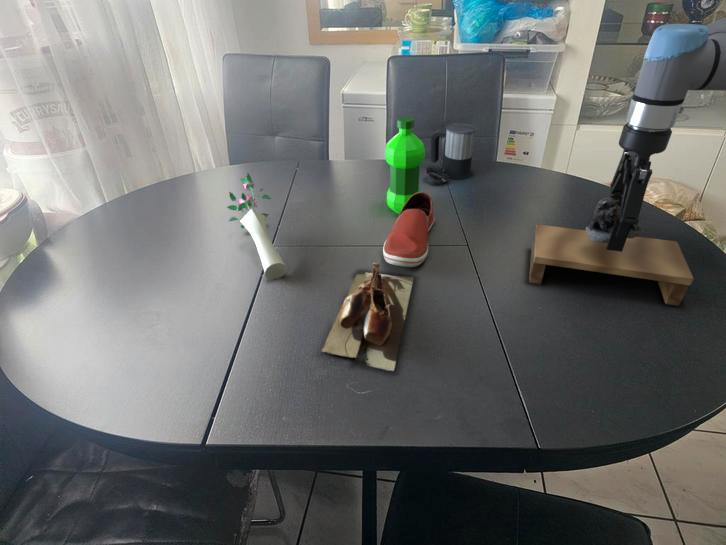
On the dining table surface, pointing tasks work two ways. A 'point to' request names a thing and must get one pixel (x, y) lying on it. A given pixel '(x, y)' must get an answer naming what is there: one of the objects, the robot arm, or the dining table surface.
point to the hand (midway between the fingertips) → (611, 236)
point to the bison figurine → (608, 221)
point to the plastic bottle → (403, 164)
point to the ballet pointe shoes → (371, 319)
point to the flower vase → (258, 231)
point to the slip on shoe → (410, 232)
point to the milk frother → (452, 152)
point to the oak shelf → (612, 259)
